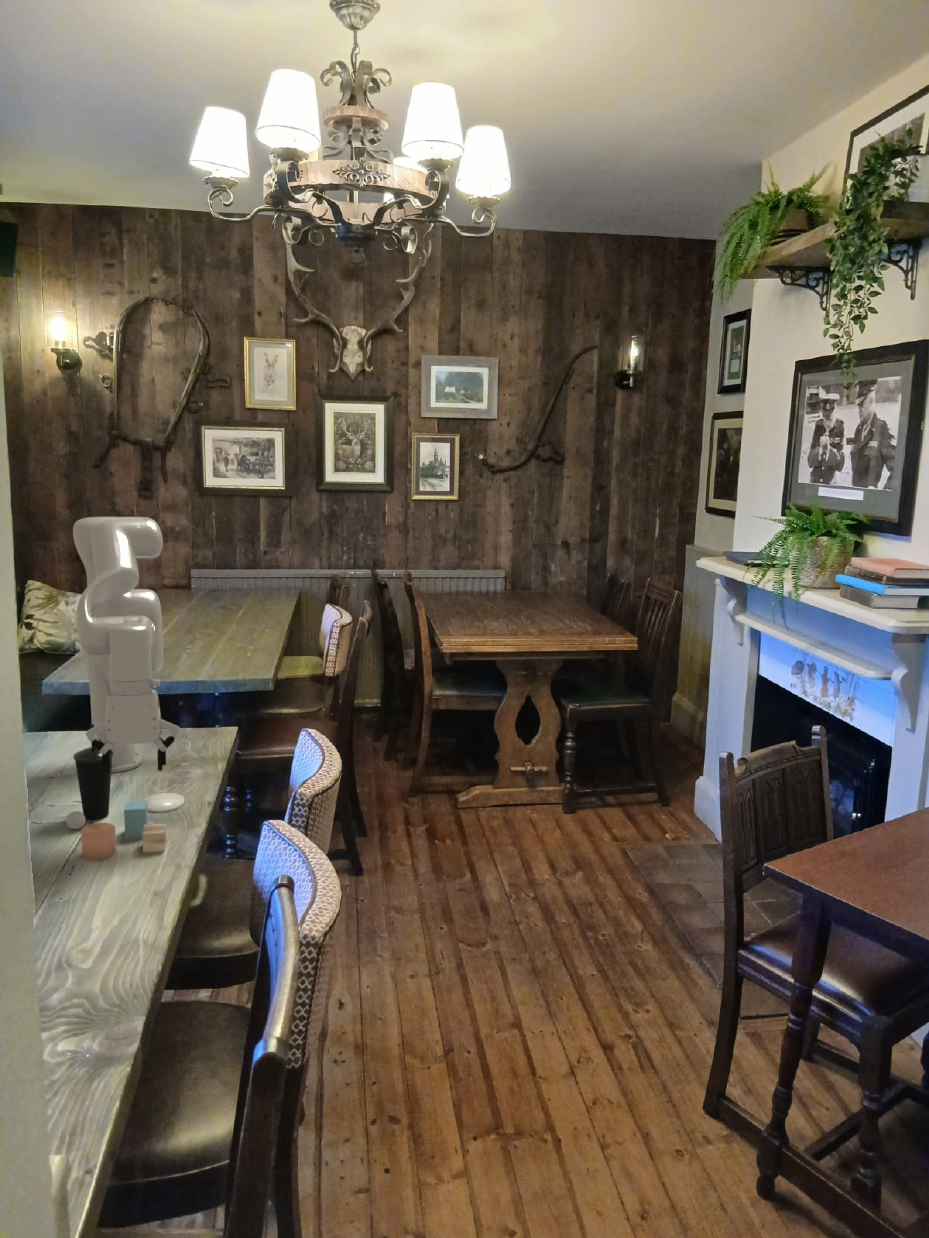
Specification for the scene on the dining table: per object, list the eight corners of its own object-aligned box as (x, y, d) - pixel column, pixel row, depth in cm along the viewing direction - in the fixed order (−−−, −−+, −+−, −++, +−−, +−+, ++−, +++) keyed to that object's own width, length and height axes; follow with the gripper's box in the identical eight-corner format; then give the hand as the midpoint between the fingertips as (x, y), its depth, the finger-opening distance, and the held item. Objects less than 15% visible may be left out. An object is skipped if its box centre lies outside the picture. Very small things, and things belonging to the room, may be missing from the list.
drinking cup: (101, 825, 180) (97, 732, 176) (68, 820, 181) (63, 728, 177) (123, 810, 187) (119, 720, 183) (91, 806, 189) (87, 717, 185)
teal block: (127, 829, 179) (126, 801, 177) (148, 828, 180) (147, 800, 178) (125, 838, 175) (124, 809, 174) (146, 836, 176) (145, 808, 175)
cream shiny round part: (143, 796, 195) (143, 794, 195) (185, 794, 197) (185, 791, 197) (139, 813, 186) (138, 810, 186) (183, 810, 188) (183, 808, 188)
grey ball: (68, 825, 179) (67, 808, 179) (87, 824, 180) (86, 807, 179) (64, 832, 176) (64, 816, 175) (84, 831, 177) (83, 814, 176)
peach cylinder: (84, 847, 170) (83, 823, 169) (117, 845, 172) (116, 821, 171) (79, 862, 165) (78, 837, 164) (113, 859, 166) (112, 835, 165)
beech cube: (144, 843, 173) (144, 824, 172) (166, 842, 174) (165, 823, 173) (142, 852, 169) (142, 833, 168) (164, 851, 170) (164, 832, 169)
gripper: (179, 680, 177) (181, 761, 180) (87, 682, 172) (91, 765, 175) (177, 689, 170) (179, 773, 173) (80, 692, 165) (85, 779, 168)
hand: (134, 769), depth 174 cm, fingers open, 9 cm apart
